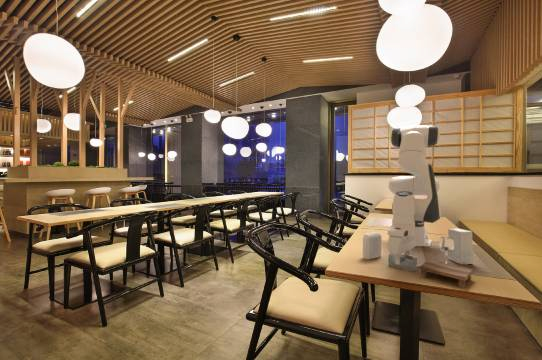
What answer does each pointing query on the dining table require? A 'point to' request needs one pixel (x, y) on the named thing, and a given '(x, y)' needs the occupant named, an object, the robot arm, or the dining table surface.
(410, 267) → the plate
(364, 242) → the photo printer
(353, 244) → the dining table surface
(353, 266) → the dining table surface
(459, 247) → the skincare box
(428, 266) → the stand
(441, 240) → the wineglass
